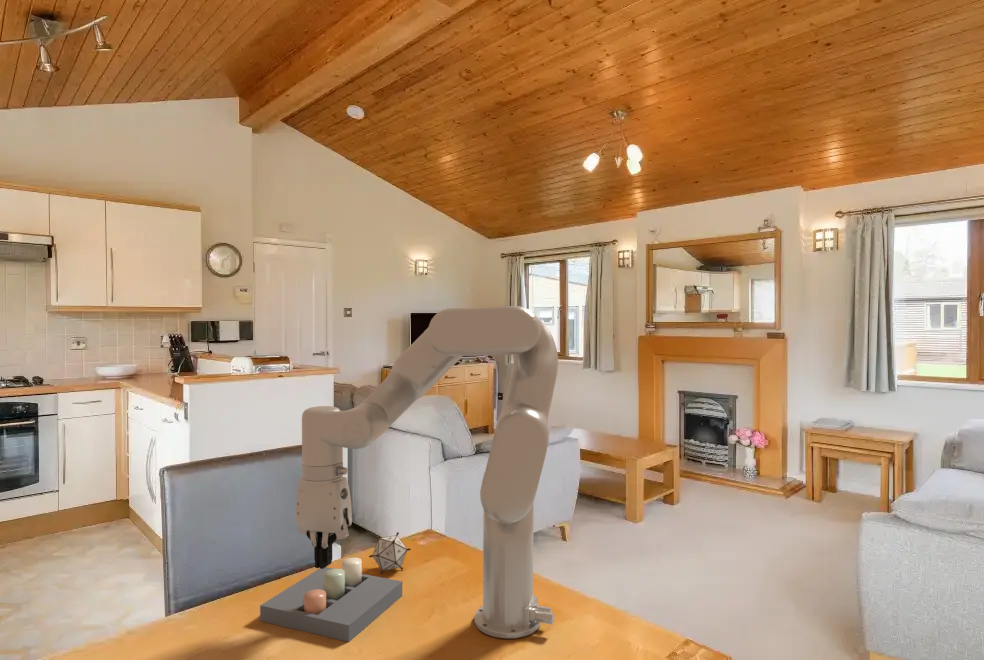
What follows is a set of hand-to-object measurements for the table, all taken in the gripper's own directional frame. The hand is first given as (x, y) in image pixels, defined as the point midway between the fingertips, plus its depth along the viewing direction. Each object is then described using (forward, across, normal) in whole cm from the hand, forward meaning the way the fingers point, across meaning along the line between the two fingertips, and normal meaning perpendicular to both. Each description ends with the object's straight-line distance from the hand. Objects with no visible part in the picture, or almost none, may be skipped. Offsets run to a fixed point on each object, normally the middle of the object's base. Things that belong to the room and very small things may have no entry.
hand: (323, 565), depth 115 cm
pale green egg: (+8, 0, -4) cm, 9 cm away
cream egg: (+8, 0, -10) cm, 12 cm away
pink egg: (+10, 0, +2) cm, 10 cm away
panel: (+10, 0, -4) cm, 11 cm away
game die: (+10, -2, -23) cm, 25 cm away
